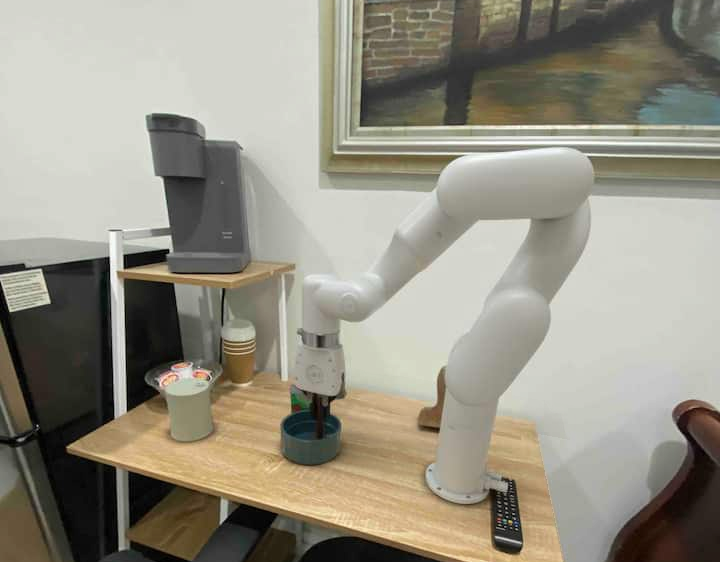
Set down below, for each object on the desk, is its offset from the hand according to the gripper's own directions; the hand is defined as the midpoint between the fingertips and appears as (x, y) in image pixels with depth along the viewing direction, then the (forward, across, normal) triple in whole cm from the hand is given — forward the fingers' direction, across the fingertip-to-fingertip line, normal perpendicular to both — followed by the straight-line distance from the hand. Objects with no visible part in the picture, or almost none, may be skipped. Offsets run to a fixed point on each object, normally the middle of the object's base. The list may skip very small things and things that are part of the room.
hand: (319, 417), depth 84 cm
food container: (+8, -10, +14) cm, 19 cm away
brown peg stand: (+7, 0, 0) cm, 7 cm away
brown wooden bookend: (+8, +24, +24) cm, 35 cm away
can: (+8, -30, -6) cm, 32 cm away
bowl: (+8, -2, 0) cm, 8 cm away
